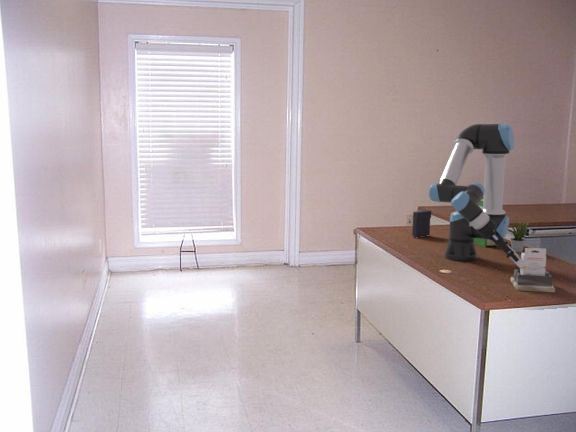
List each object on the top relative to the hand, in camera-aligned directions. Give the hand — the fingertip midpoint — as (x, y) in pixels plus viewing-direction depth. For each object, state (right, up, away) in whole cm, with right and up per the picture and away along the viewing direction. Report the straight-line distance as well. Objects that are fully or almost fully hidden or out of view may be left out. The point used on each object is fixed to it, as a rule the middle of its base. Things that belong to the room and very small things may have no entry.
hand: (519, 262), depth 219 cm
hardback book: (+13, +3, +78) cm, 79 cm away
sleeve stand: (+5, -10, +1) cm, 11 cm away
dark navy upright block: (-16, +6, +95) cm, 97 cm away
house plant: (+25, 0, +60) cm, 65 cm away
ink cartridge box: (+5, -9, +1) cm, 10 cm away
